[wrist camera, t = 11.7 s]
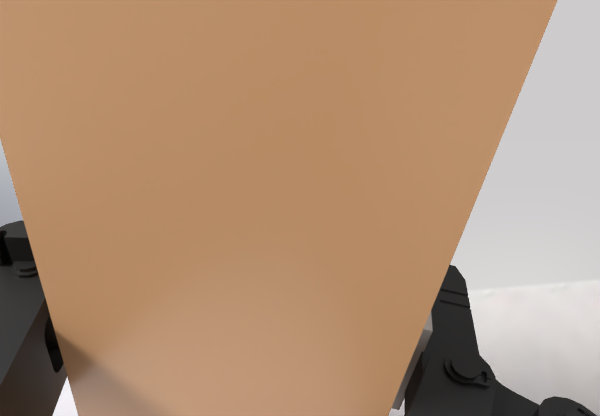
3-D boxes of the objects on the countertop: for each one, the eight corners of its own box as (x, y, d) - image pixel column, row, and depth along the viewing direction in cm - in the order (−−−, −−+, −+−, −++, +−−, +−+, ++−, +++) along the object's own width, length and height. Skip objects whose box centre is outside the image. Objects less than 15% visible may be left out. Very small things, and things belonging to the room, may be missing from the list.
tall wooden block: (195, 391, 19) (185, -110, 9) (332, 427, 18) (477, -70, 9) (118, 558, 14) (-89, -175, 4) (305, 616, 13) (592, -85, 3)
